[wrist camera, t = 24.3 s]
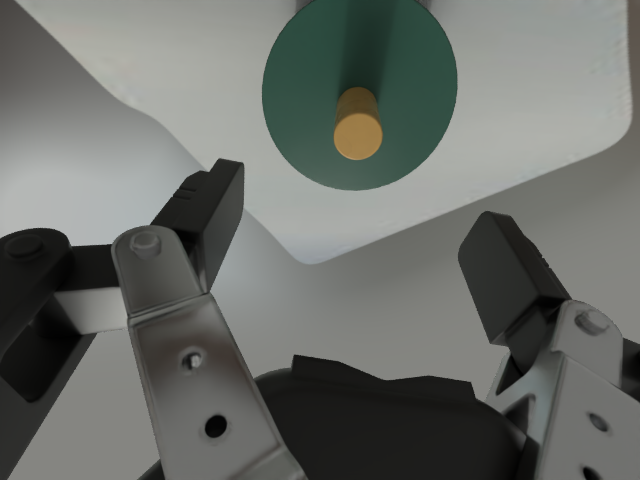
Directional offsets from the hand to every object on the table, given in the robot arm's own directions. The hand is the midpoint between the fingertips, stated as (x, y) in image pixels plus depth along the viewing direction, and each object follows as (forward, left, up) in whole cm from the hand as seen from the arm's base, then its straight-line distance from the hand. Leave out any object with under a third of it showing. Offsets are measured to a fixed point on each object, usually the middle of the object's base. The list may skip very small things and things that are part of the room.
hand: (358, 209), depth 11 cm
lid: (0, 0, -11) cm, 11 cm away
